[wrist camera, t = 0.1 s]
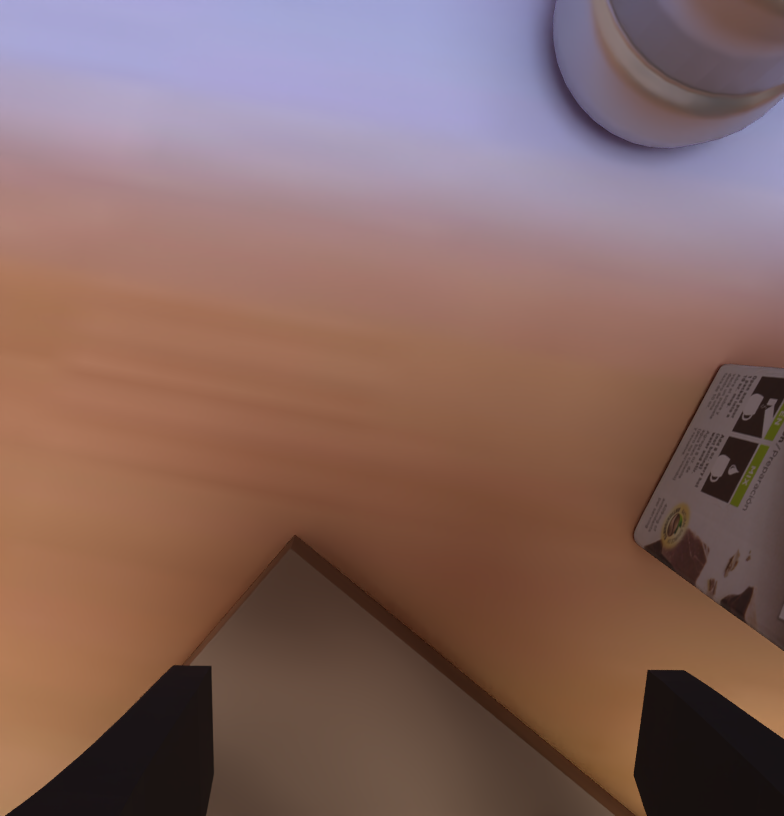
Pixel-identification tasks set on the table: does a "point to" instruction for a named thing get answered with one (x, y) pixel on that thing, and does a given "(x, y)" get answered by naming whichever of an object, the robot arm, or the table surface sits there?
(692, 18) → the plastic bottle
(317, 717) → the stool seat panel
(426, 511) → the table surface
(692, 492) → the coffee box
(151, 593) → the table surface
